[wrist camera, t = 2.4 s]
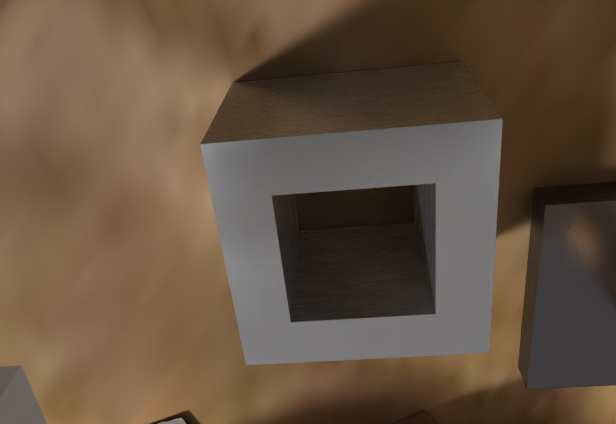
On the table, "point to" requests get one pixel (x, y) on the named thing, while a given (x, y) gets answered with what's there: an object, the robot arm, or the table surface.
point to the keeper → (570, 289)
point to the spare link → (418, 419)
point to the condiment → (174, 421)
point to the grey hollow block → (363, 239)
